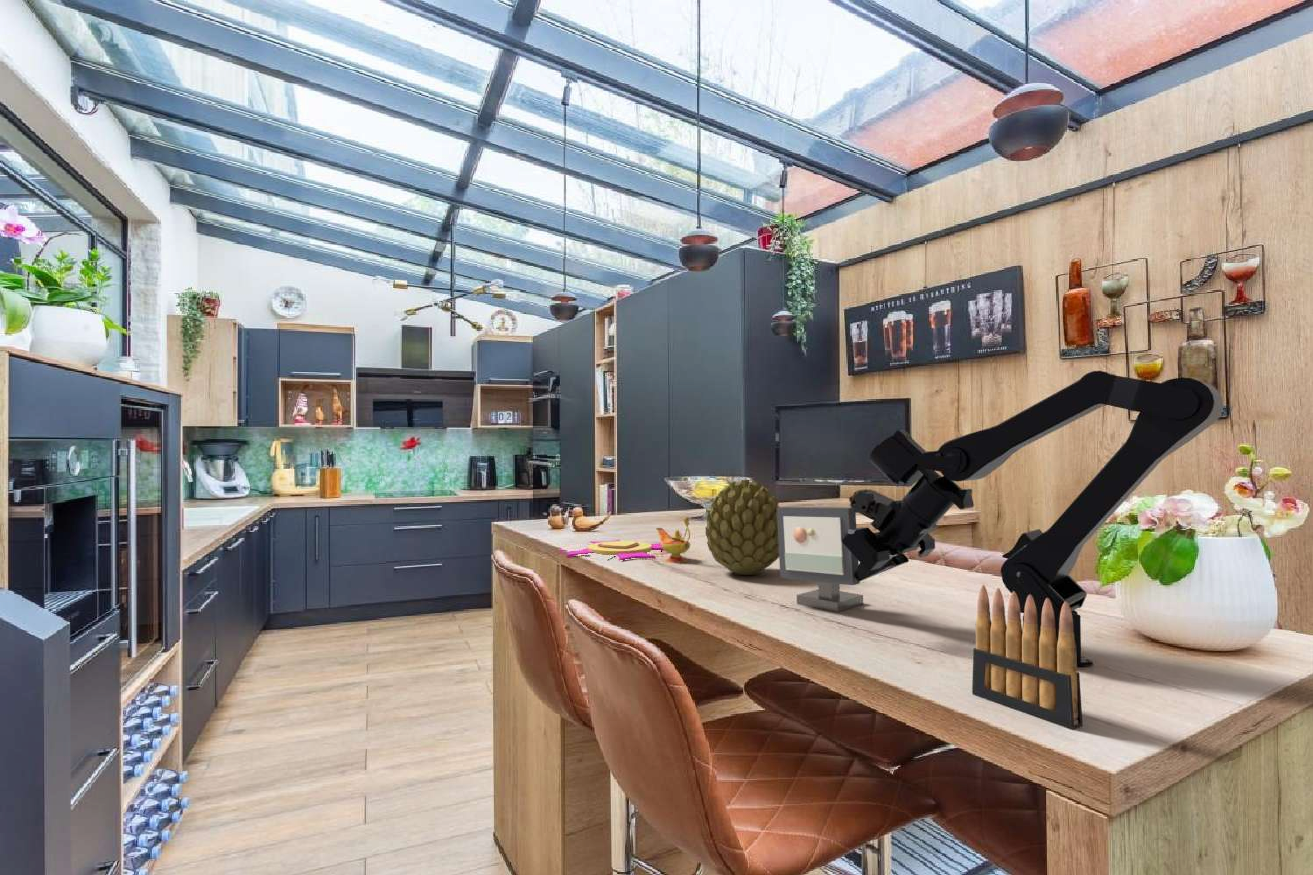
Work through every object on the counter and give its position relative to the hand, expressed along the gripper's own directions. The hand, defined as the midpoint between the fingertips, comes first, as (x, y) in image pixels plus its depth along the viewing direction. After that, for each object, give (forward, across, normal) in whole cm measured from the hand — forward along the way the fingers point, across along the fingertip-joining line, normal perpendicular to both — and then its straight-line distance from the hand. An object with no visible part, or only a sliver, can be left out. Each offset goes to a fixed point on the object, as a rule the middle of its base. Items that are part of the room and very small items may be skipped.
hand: (857, 578), depth 105 cm
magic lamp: (+45, -17, -40) cm, 62 cm away
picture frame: (+6, 0, -5) cm, 7 cm away
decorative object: (+29, -16, -22) cm, 40 cm away
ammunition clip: (-16, +19, +27) cm, 37 cm away
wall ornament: (+58, -16, -54) cm, 81 cm away
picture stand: (+10, -5, -2) cm, 12 cm away
